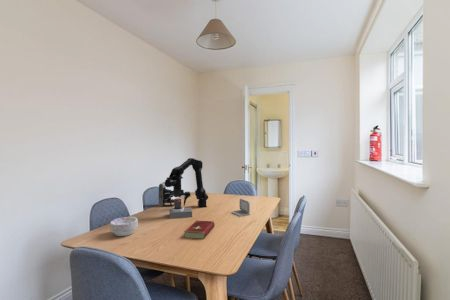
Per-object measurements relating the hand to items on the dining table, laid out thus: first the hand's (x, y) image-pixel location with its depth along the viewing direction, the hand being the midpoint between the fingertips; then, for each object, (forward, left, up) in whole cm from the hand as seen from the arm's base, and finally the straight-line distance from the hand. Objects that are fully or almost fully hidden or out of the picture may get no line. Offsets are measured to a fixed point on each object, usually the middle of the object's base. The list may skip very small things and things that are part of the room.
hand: (177, 206), depth 184 cm
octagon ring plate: (-2, 0, -7) cm, 7 cm away
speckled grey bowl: (+32, +30, -7) cm, 44 cm away
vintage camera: (+7, -35, -7) cm, 36 cm away
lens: (0, 0, -3) cm, 3 cm away
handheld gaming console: (-46, +7, -7) cm, 47 cm away
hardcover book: (-12, +39, -8) cm, 41 cm away
